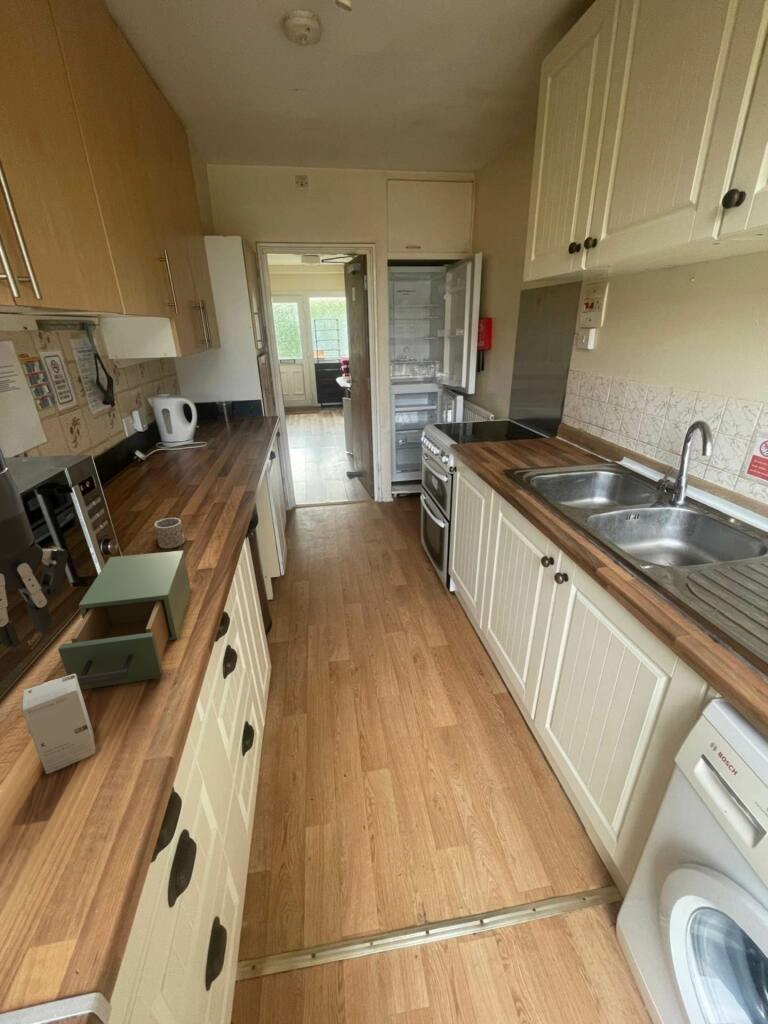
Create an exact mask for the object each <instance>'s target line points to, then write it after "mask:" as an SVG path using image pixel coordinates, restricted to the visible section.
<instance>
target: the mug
mask: <svg viewBox="0 0 768 1024" xmlns="http://www.w3.org/2000/svg"><path fill="white" fill-rule="evenodd" d="M154 529H155V534H156V538H157V544H158V547H160V548H162V549H175V548H178V547H180V546H182V545H183V544H184V543H185V542H186V541H185V535H184V530H183V526H182V520H181V519H180V518H178V517H167V518H162V519H159V520H156V521H154Z"/></svg>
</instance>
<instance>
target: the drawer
mask: <svg viewBox="0 0 768 1024" xmlns="http://www.w3.org/2000/svg"><path fill="white" fill-rule="evenodd" d="M169 633H170V627H169V622H168V618H167V613H166V609H165V604H164V600H163V599H162V600H153V601H145V602H136V603H128V604H119V605H111V606H102V607H93V608H90V609H89V610H88V612H87V614H86V615H85V617H84V619H83V618H82V619H81V622H80V623H79V625H78V627H77V628H76V630H75V632H74V633H73V634H72V637H71V638H70V640H71V642H68V643H62V644H60V646H59V647H58V649H57V650H58V654H59V656H60V659H61V661H62V664H63V667H64V670H65V673H66V676H69V675H72V674H76V676H77V680H78V683H79V687H80V690H81V691H82V690H89V689H94V688H102V687H108V686H114V685H115V686H116V685H120V684H126V683H133V682H139V681H146V680H147V681H148V680H151V679H152V680H153V679H159V678H162V677H163V674H164V671H163V666H162V663H161V662H162V659H163V655H164V653H165V649H166V646H167V642H168V640H167V639H168V636H169Z"/></svg>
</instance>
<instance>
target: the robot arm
mask: <svg viewBox="0 0 768 1024" xmlns="http://www.w3.org/2000/svg"><path fill="white" fill-rule="evenodd" d="M23 503H24V501H23V497H22V495H21V494H20V493H19V489H18V487H17V484H16V482H15V480H14V479H13V477H12V475H11V473H10V471H9V469H8V466H7V463H6V459H5V457H4V455H3V452H2V448H1V447H0V645H1V646H2V647H4V648H6V649H8V648H10V649H12V650H15V649H17V648H19V647H21V646H22V644H21V641H20V638H19V636H18V634H17V631H16V628H15V626H14V623H13V622H12V621H10V620H9V615H8V608H7V607H8V606H9V601H8V595H10V594H11V593H13V592H14V591H19V593H20V594H21V596H22V597H23V599H24V601H25V602H27V604H26V605H25V607H26V609H27V612H28V616H29V618H30V620H31V623H32V626H33V628H34V630H36V631H37V632H39V633H41V634H45V633H47V632H49V631H50V629H51V628H50V626H52V625H53V619H52V616H51V613H50V610H49V608H48V601H49V600H50V599H51V598H53V597H55V596H58V595H59V594H60V593H61V592H62V587H63V582H64V577H65V571H66V567H67V562H68V558H69V551H67V550H66V549H63V548H60V547H57V546H55V545H50V546H49V547H48V548H42V547H41V546H40V545H39V544H38V543H36V541H35V536H34V532H33V530H32V526H31V524H30V521H29V519H28V518H29V517H28V515H27V513H26V510H25V507H24V504H23ZM40 563H42V564H43V566H42V572H41V576H40V582H39V581H38V580H37V578H36V573H37V571H38V568H39V567H40Z"/></svg>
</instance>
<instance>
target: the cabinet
mask: <svg viewBox="0 0 768 1024" xmlns="http://www.w3.org/2000/svg"><path fill="white" fill-rule="evenodd" d="M191 590H192V588H191V583H190V577H189V571H188V566H187V562H186V557H185V551H184V550H174V551H173V550H172V551H163V552H153V553H141V554H128V555H120V556H119V555H118V556H110V557H109V558H108V560H107V561H106V562H105V564H104V566H103V567H102V568H101V570H100V572H99V573H98V574H97V577H95V579H94V581H93V583H92V584H91V586H90V587H89V588H88V590H87V592H86V593H85V594H84V595H83V597H82V598H81V601H80V602H79V603H78V608H79V611H80V615H81V618H82V620H83V619H84V617H85V615H86V614H87V612H88V610H89V609H90V608H93V607H102V606H111V605H119V604H128V603H136V602H145V601H153V600H162V599H163V600H164V604H165V609H166V613H167V618H168V622H169V627H170V633H169V636H168V639H167V641H172V640H173V641H174V640H178V637H179V633H180V630H181V627H182V624H183V623H182V622H183V619H184V617H185V612H186V610H187V609H186V608H187V605H188V602H189V598H190V594H191Z"/></svg>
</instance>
